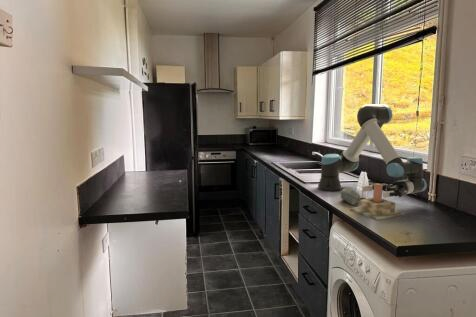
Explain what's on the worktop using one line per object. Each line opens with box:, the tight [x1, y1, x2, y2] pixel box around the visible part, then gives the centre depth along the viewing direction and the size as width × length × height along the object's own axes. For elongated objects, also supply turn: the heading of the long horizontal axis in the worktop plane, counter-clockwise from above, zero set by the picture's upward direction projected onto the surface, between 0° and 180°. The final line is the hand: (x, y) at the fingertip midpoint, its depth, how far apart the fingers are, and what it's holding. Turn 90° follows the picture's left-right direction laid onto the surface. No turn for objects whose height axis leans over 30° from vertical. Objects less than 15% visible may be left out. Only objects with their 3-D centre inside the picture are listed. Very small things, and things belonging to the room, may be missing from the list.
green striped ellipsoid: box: [340, 187, 361, 206], centre depth 185 cm, size 14×10×10 cm
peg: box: [372, 182, 383, 203], centre depth 166 cm, size 4×4×14 cm
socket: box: [350, 197, 405, 221], centre depth 166 cm, size 18×18×6 cm
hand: (372, 191), depth 164 cm, fingers open, 13 cm apart
